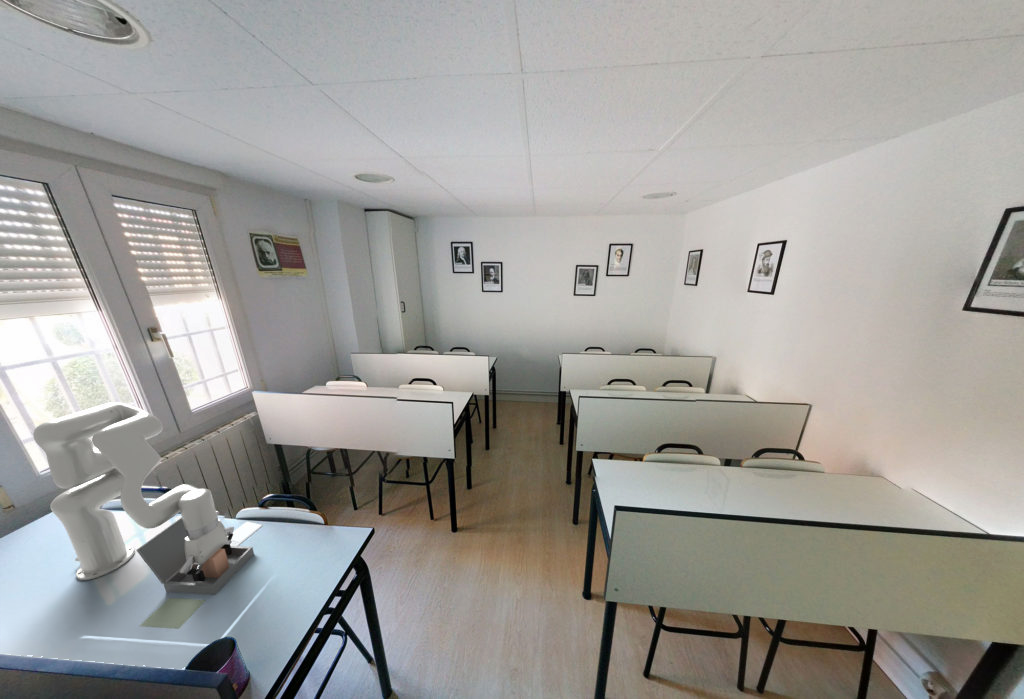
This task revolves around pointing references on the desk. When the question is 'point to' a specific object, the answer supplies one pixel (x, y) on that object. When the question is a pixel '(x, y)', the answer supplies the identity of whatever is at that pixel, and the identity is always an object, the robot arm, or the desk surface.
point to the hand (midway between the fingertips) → (214, 566)
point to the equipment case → (170, 557)
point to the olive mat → (173, 613)
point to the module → (216, 564)
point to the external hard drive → (244, 533)
